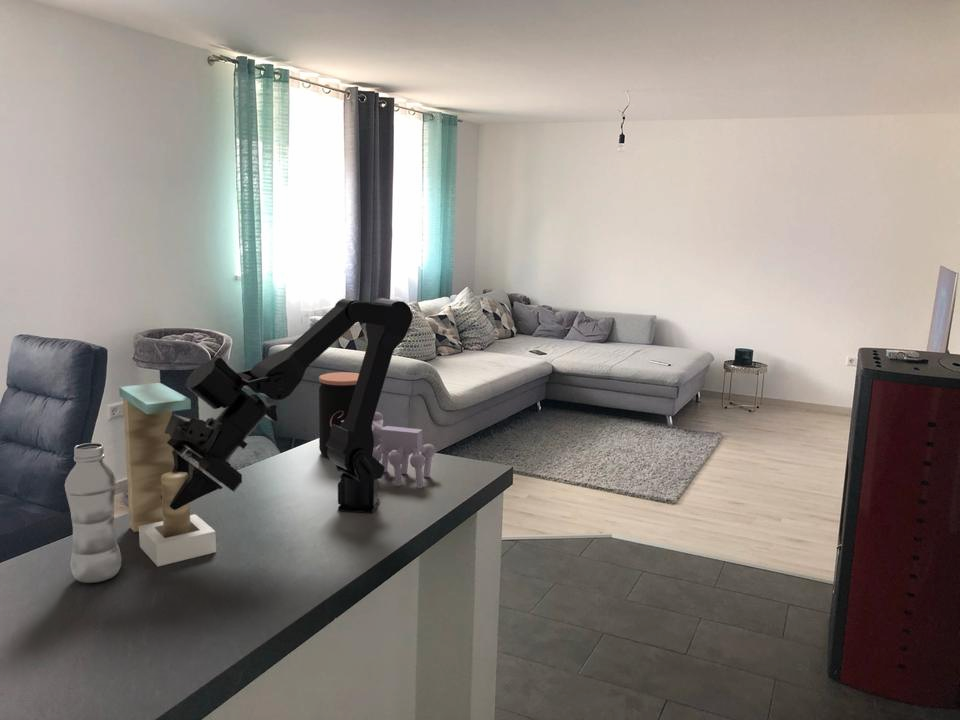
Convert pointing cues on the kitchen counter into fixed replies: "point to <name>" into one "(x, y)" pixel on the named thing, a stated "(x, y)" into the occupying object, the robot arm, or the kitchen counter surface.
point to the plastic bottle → (92, 516)
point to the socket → (177, 542)
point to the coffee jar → (334, 402)
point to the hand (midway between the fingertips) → (167, 504)
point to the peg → (172, 519)
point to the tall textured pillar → (148, 447)
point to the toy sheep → (401, 450)
